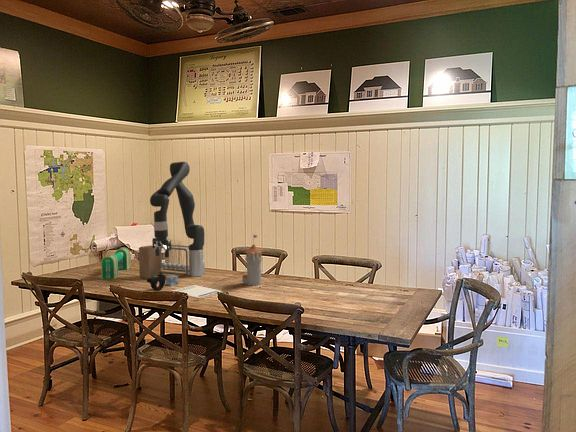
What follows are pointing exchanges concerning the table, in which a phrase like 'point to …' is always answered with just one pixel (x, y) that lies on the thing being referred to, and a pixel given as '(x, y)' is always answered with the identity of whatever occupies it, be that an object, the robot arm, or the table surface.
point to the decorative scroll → (115, 263)
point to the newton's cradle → (174, 263)
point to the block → (149, 262)
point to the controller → (154, 280)
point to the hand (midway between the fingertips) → (162, 256)
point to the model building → (253, 266)
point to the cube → (172, 280)
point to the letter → (197, 291)
